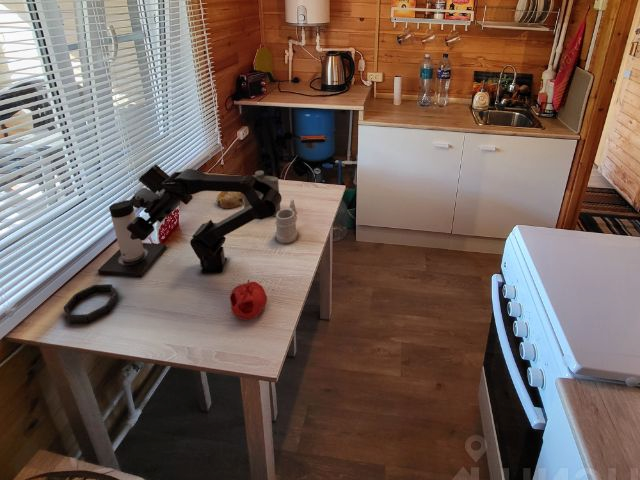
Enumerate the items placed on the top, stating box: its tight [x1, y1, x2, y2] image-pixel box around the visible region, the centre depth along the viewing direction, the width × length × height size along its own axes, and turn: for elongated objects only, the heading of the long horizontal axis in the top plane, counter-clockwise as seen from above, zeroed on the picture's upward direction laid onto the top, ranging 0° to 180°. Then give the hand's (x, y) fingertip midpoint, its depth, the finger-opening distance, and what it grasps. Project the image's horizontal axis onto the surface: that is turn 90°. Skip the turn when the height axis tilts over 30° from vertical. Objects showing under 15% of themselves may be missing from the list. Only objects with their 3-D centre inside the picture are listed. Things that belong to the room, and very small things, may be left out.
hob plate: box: [97, 242, 167, 278], centre depth 124 cm, size 14×14×2 cm
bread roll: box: [215, 191, 244, 209], centre depth 156 cm, size 10×10×8 cm
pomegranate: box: [229, 279, 268, 320], centre depth 104 cm, size 10×10×9 cm
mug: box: [274, 199, 299, 244], centre depth 136 cm, size 8×12×12 cm, turn 165°
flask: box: [243, 170, 281, 217], centre depth 147 cm, size 4×14×18 cm, turn 86°
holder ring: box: [63, 283, 120, 325], centre depth 106 cm, size 12×12×2 cm
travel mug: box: [108, 199, 144, 262], centre depth 120 cm, size 6×7×20 cm
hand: (141, 229), depth 119 cm, fingers open, 9 cm apart
